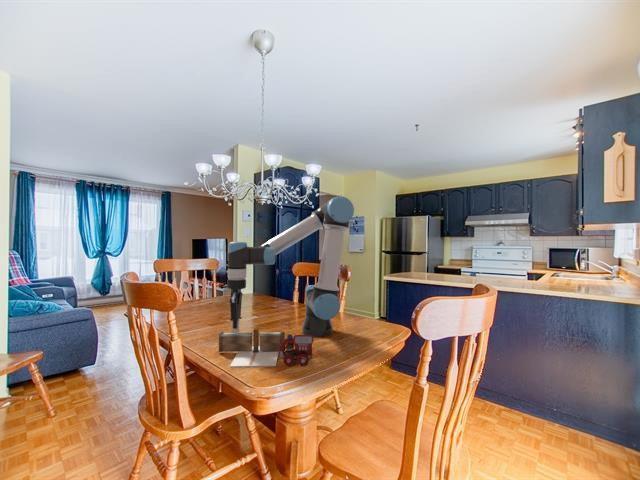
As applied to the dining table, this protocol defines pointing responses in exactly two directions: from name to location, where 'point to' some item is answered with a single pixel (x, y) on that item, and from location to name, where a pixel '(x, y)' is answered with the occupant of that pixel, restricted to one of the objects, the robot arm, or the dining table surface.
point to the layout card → (255, 358)
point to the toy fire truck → (296, 349)
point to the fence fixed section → (268, 340)
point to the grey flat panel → (235, 342)
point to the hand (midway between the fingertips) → (235, 335)
